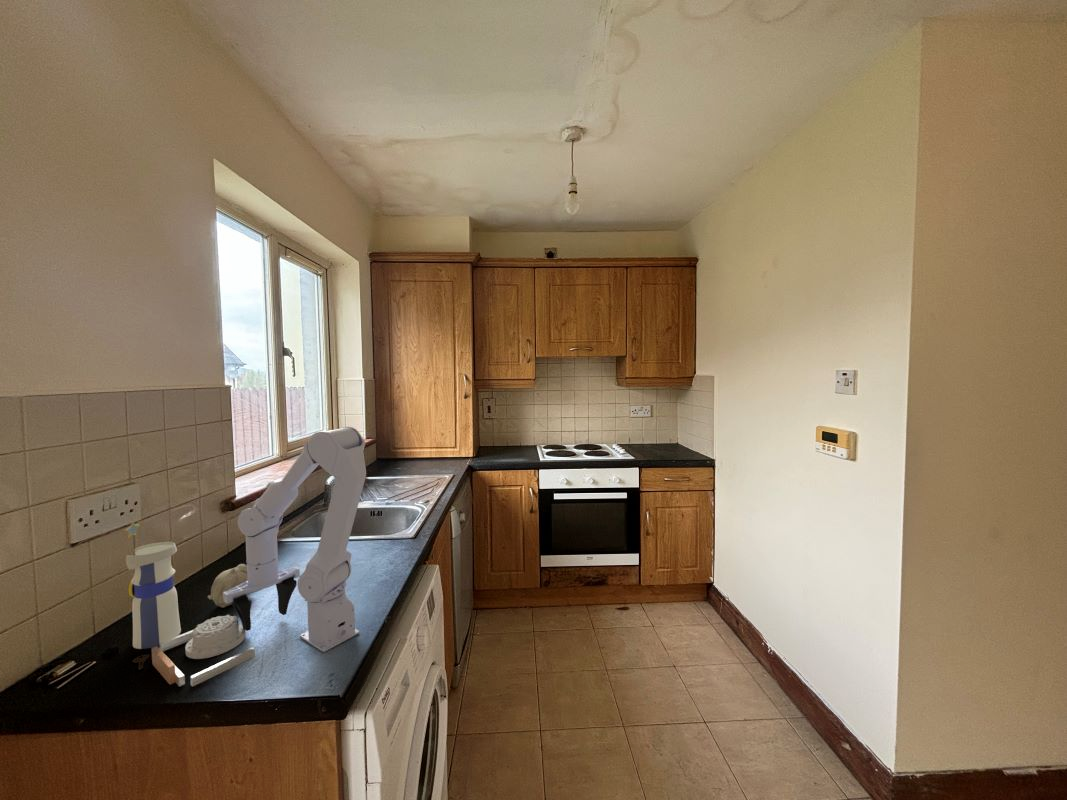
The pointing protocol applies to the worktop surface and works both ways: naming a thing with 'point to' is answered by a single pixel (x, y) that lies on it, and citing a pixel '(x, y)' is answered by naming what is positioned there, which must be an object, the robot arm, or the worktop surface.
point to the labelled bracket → (176, 675)
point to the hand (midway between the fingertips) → (265, 620)
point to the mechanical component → (215, 637)
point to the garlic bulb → (227, 583)
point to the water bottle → (153, 593)
